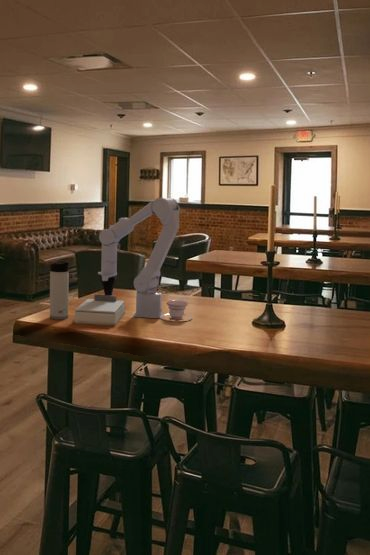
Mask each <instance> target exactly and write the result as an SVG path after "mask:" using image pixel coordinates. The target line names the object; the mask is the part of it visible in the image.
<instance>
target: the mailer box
mask: <svg viewBox="0 0 370 555" xmlns="http://www.w3.org/2000/svg"><path fill="white" fill-rule="evenodd" d="M125 305H126V303H125V302H124V304H123V305H122V306H121V307H120V308H119V309H118V311H117V312H116V313H103V312H86V311H75V310H74V324H84V325H99V326H116V325H117V324H118V323H119V321H120V320H122V318H123V317H124V315H125V314H126V312H125V308H126V306H125Z"/></svg>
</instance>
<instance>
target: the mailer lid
mask: <svg viewBox="0 0 370 555" xmlns="http://www.w3.org/2000/svg"><path fill="white" fill-rule="evenodd" d="M117 296H118V295H113V294H112V295H105V294H94V298H87V299H86V300H85V301H83V302H82V303H81V304H80V305H79V306H77V307H76V308H75V309H74V312H75V311H86V312H103V313H116V312H117V311H118V309H119V308H120V307H121V306H122V305H123V304H124V303H125V300H117V299H118V298H117Z"/></svg>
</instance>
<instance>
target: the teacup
mask: <svg viewBox="0 0 370 555" xmlns="http://www.w3.org/2000/svg"><path fill="white" fill-rule="evenodd" d="M188 304H189V303H188V301H185V300H181V299H172V300H170V299H169V300H167V301H166V305H167V306H168V309H169V313H163V314H161V315H160V317H159V319H160V320H162V321H166V322H170V321H171V320H165V319H163V318H164V316H167V315H170V316H171V317H170V318H171V319H172V318H173V320H176V319H179V320H181V319H183V318H182V317H183V316H188V317H190V320H191V319H192V320H193V317H192V316H191V315H189V314H185V310H186V307H187V306H188ZM192 320H191V321H192ZM186 321H187V322H190V321H189V320H186ZM172 323H184V322H183V321H172Z"/></svg>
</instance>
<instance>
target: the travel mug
mask: <svg viewBox="0 0 370 555" xmlns="http://www.w3.org/2000/svg"><path fill="white" fill-rule="evenodd" d="M69 265H70V261H64V262H63V261H62V262H54V263H53V262H52V263H50V268H49V269H50V271H49V272H50V273H49V318H50V319H51V320H56V321H57V320H59V321H60V320H66V319H68V318H69V281H70V280H69V278H70V277H69V275H70V274H69V272H70V271H69Z"/></svg>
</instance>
